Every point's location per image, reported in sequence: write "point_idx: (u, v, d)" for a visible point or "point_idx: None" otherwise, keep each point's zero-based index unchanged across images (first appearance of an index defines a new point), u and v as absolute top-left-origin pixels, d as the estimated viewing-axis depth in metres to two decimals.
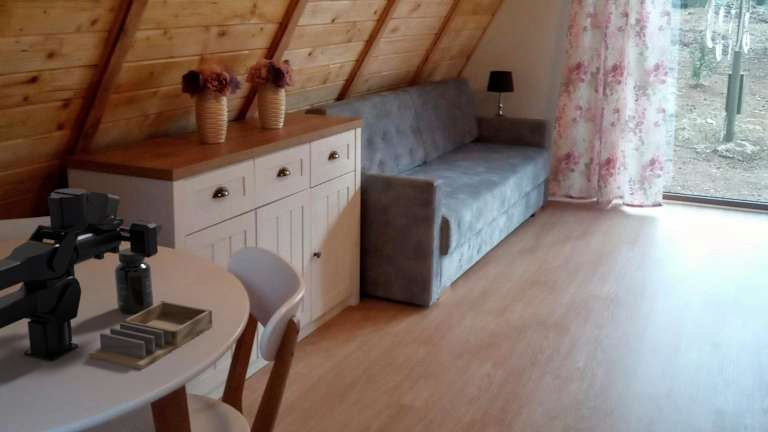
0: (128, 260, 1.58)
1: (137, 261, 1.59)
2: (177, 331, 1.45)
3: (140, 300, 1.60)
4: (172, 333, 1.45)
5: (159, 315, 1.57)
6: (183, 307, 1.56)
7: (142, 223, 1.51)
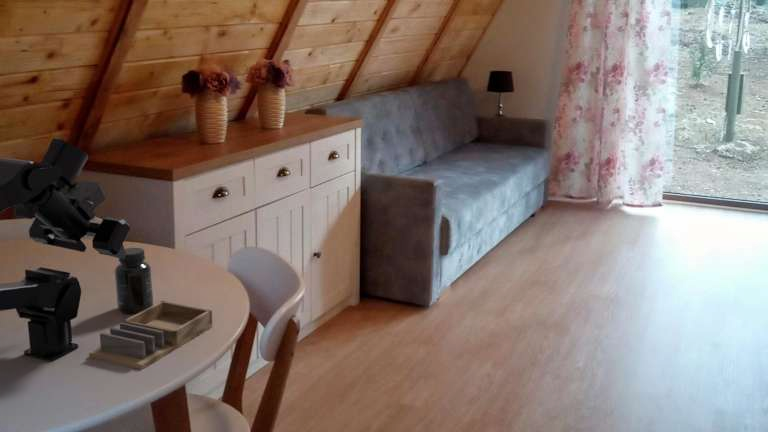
0: (128, 260, 1.58)
1: (137, 261, 1.59)
2: (177, 331, 1.45)
3: (140, 300, 1.60)
4: (172, 333, 1.45)
5: (159, 315, 1.57)
6: (183, 307, 1.56)
7: None
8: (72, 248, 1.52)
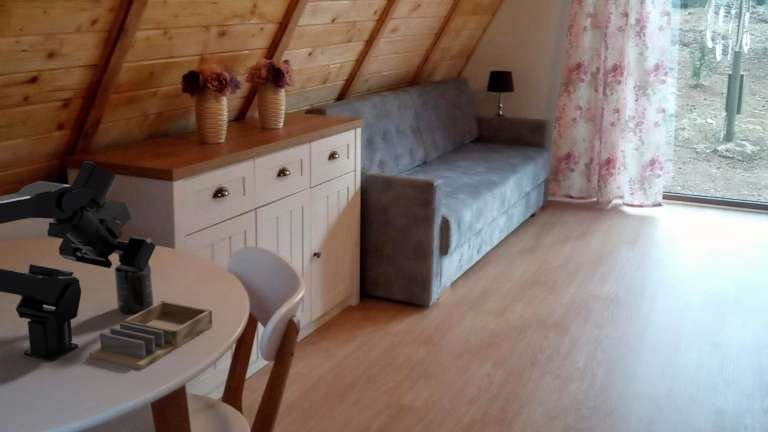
0: None
1: None
2: (177, 331, 1.45)
3: (140, 300, 1.60)
4: (172, 333, 1.45)
5: (159, 315, 1.57)
6: (183, 307, 1.56)
7: None
8: (99, 265, 1.59)
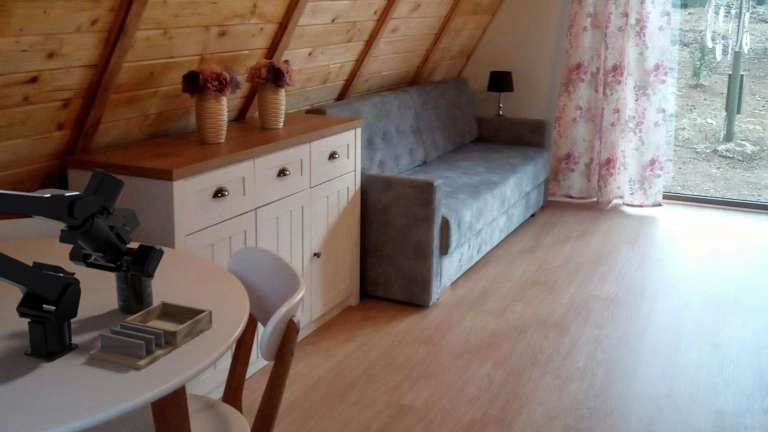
0: (128, 260, 1.58)
1: None
2: (177, 331, 1.45)
3: (140, 300, 1.60)
4: (172, 333, 1.45)
5: (159, 315, 1.57)
6: (183, 307, 1.56)
7: None
8: (112, 271, 1.61)
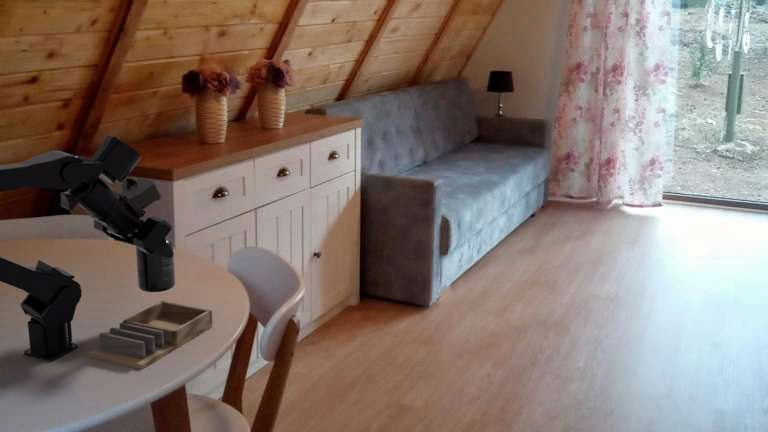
0: None
1: None
2: (177, 331, 1.45)
3: (156, 278, 1.52)
4: (172, 333, 1.45)
5: (159, 315, 1.57)
6: (183, 307, 1.56)
7: None
8: None
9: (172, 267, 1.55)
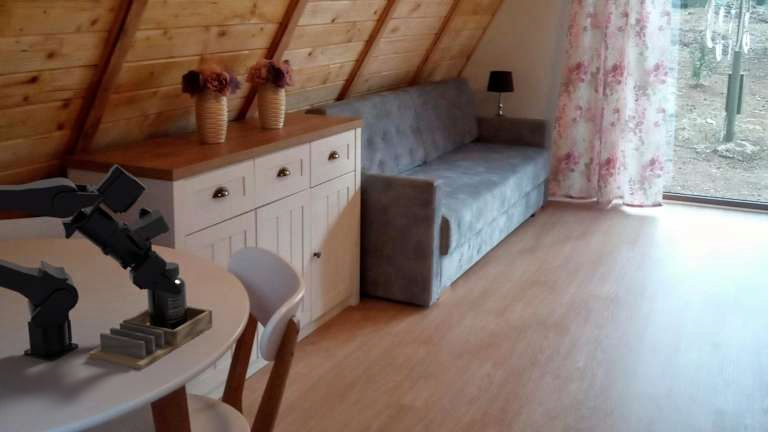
0: None
1: None
2: (177, 331, 1.45)
3: (161, 319, 1.48)
4: (172, 333, 1.45)
5: None
6: None
7: (158, 255, 1.41)
8: None
9: (181, 310, 1.49)
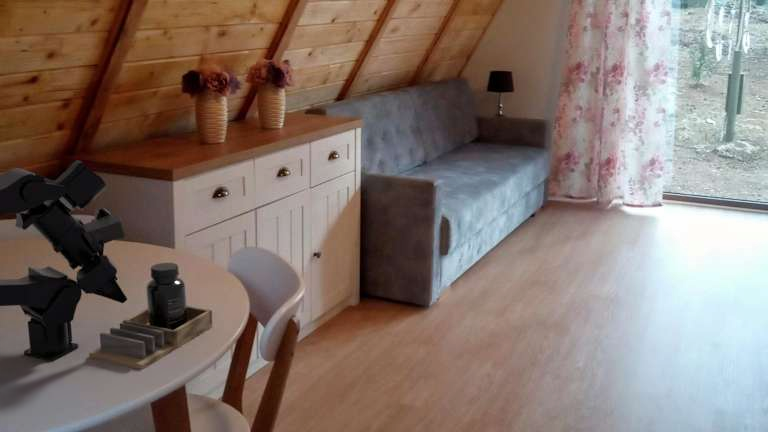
0: (154, 275, 1.48)
1: (161, 278, 1.47)
2: (177, 331, 1.45)
3: (161, 320, 1.48)
4: (172, 333, 1.45)
5: None
6: None
7: (110, 261, 1.38)
8: None
9: (180, 310, 1.49)
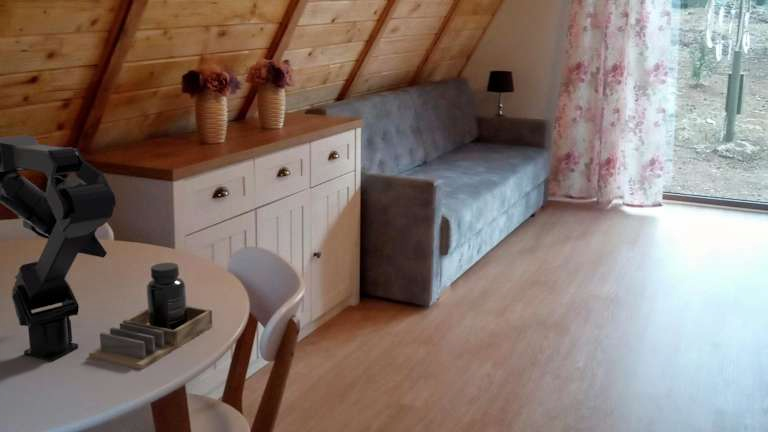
0: (154, 275, 1.48)
1: (161, 278, 1.47)
2: (177, 331, 1.45)
3: (161, 320, 1.48)
4: (172, 333, 1.45)
5: None
6: None
7: None
8: None
9: (181, 311, 1.49)
